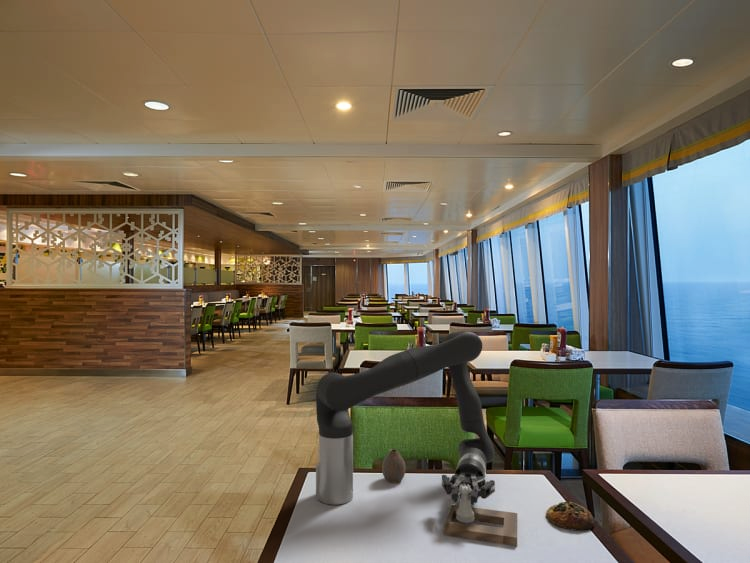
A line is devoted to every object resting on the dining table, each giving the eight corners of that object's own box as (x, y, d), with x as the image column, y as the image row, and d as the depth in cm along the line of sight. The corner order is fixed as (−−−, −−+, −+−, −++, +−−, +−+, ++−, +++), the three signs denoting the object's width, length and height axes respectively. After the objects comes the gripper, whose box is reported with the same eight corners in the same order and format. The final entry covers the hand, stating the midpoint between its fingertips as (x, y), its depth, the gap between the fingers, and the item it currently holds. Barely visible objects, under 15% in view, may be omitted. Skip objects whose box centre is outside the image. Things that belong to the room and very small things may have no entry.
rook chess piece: (463, 525, 110) (463, 491, 110) (452, 517, 114) (451, 484, 114) (478, 521, 112) (478, 487, 112) (466, 513, 116) (466, 480, 116)
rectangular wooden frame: (444, 535, 108) (444, 527, 108) (451, 511, 119) (451, 504, 119) (517, 546, 103) (517, 537, 103) (517, 520, 115) (517, 513, 115)
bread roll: (586, 536, 107) (583, 513, 108) (539, 527, 114) (536, 505, 115) (602, 521, 115) (599, 499, 116) (557, 513, 123) (555, 493, 123)
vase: (403, 486, 135) (403, 455, 135) (380, 484, 137) (380, 453, 137) (407, 476, 142) (406, 447, 142) (384, 475, 143) (384, 446, 144)
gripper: (444, 454, 128) (433, 479, 112) (497, 460, 124) (494, 486, 108) (444, 482, 128) (433, 511, 112) (498, 488, 124) (495, 519, 108)
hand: (463, 499), depth 110 cm, fingers closed on rook chess piece, 3 cm apart
